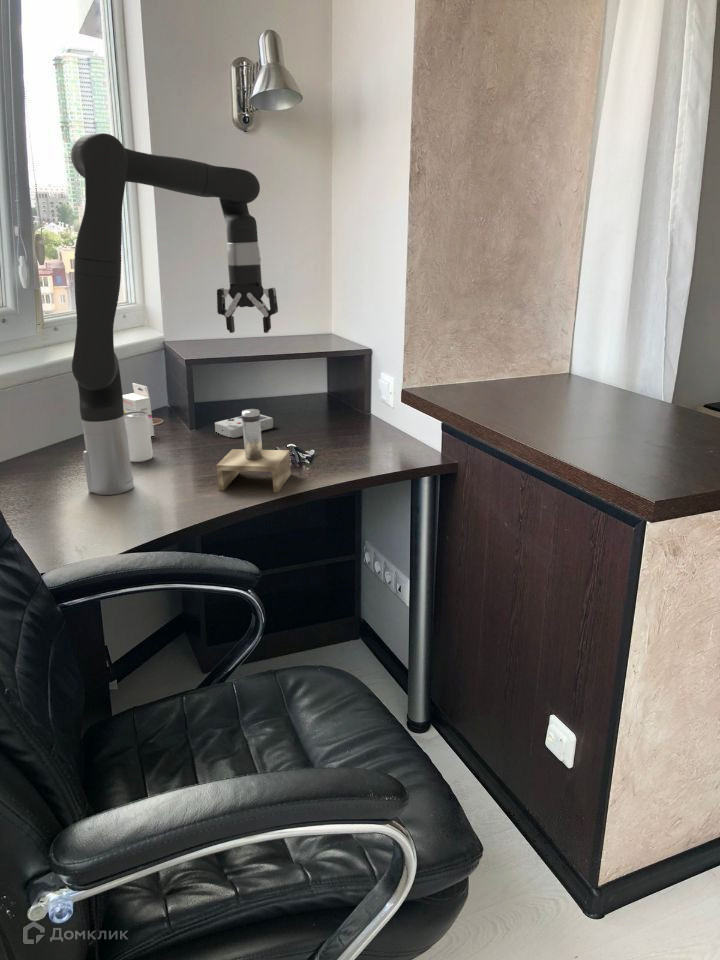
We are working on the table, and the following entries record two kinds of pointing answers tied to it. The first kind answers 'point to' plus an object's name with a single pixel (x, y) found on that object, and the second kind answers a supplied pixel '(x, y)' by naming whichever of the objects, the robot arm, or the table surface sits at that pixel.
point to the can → (138, 436)
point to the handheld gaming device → (240, 426)
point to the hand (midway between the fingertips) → (249, 332)
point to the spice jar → (252, 434)
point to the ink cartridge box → (139, 403)
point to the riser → (254, 466)
